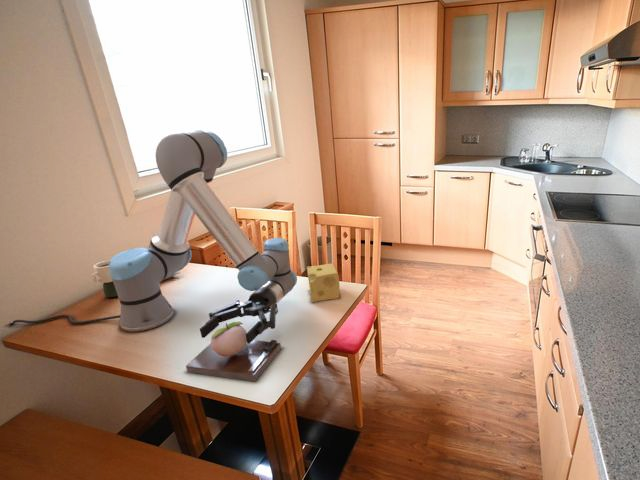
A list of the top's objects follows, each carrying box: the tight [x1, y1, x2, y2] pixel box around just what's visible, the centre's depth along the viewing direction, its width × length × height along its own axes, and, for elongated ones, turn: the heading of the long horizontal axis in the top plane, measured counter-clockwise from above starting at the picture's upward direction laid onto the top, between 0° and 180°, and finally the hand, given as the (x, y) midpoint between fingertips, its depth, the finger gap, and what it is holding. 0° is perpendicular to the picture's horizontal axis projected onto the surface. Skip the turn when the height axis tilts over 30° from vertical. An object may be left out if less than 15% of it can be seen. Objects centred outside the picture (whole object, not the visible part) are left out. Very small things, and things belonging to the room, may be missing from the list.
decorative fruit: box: [210, 321, 248, 357], centre depth 101 cm, size 9×8×10 cm
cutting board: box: [185, 339, 282, 383], centre depth 104 cm, size 20×14×3 cm
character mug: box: [91, 259, 118, 298], centre depth 141 cm, size 11×7×13 cm, turn 159°
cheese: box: [306, 263, 340, 303], centre depth 137 cm, size 10×11×10 cm
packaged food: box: [161, 271, 181, 282], centre depth 156 cm, size 9×12×5 cm
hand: (224, 336), depth 99 cm, fingers open, 13 cm apart
